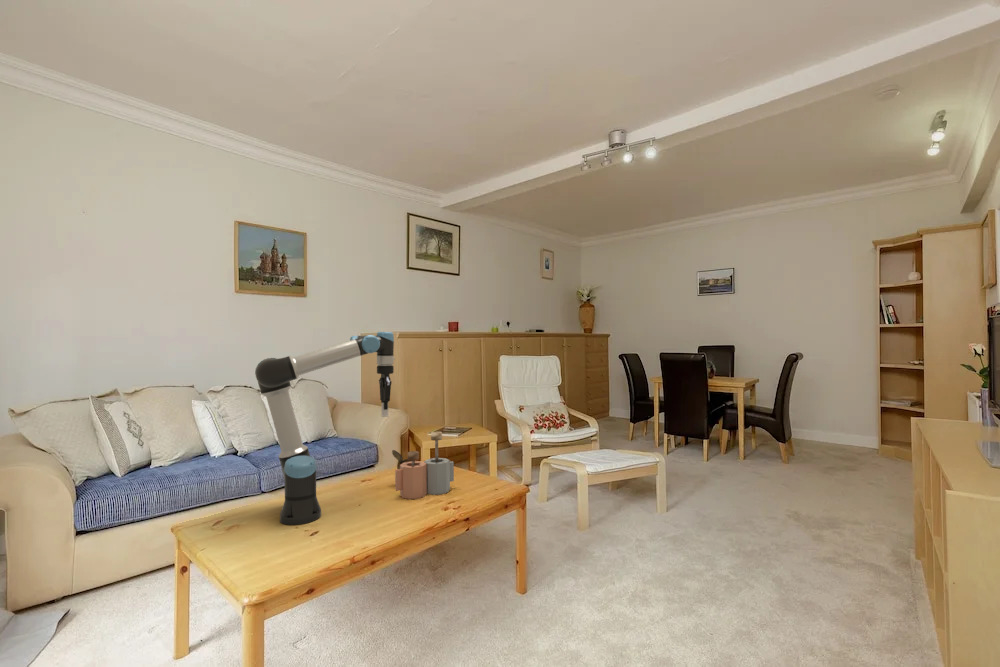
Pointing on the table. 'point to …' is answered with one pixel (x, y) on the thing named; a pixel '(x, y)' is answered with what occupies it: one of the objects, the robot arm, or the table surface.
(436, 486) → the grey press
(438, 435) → the grey plunger
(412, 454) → the taupe plunger
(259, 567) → the table surface
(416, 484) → the pink octagonal mug
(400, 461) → the wooden mug
